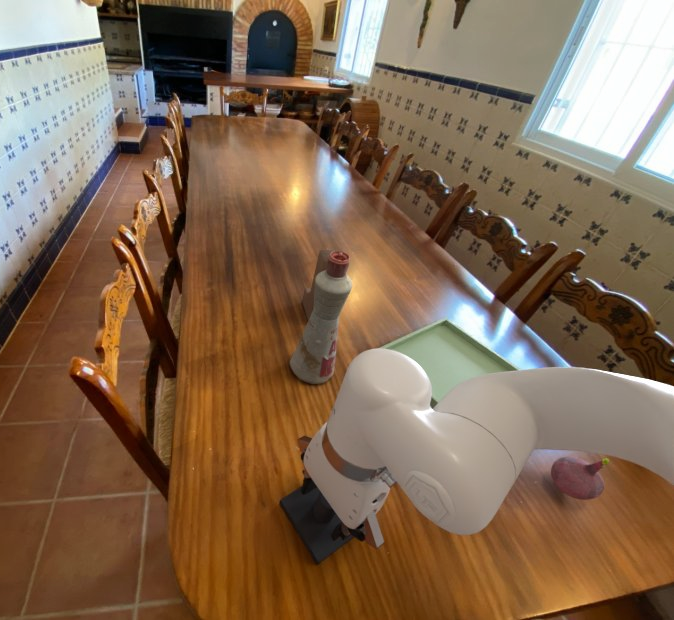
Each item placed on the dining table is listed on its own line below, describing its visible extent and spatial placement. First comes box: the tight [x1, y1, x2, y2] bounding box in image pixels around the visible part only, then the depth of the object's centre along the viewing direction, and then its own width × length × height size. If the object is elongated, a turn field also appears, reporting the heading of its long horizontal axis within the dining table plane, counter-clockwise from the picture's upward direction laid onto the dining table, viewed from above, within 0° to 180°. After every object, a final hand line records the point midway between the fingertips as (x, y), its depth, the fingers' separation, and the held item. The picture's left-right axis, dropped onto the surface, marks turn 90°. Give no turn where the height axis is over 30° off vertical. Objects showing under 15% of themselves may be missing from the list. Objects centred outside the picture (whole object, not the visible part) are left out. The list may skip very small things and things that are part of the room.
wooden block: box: [301, 249, 339, 322], centre depth 82 cm, size 9×4×18 cm, turn 5°
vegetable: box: [550, 456, 610, 501], centre depth 55 cm, size 6×6×10 cm
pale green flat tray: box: [379, 316, 522, 409], centre depth 74 cm, size 28×24×2 cm
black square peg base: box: [279, 485, 355, 566], centre depth 50 cm, size 9×9×6 cm
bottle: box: [289, 250, 353, 385], centre depth 65 cm, size 9×9×28 cm
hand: (324, 509), depth 51 cm, fingers open, 6 cm apart
